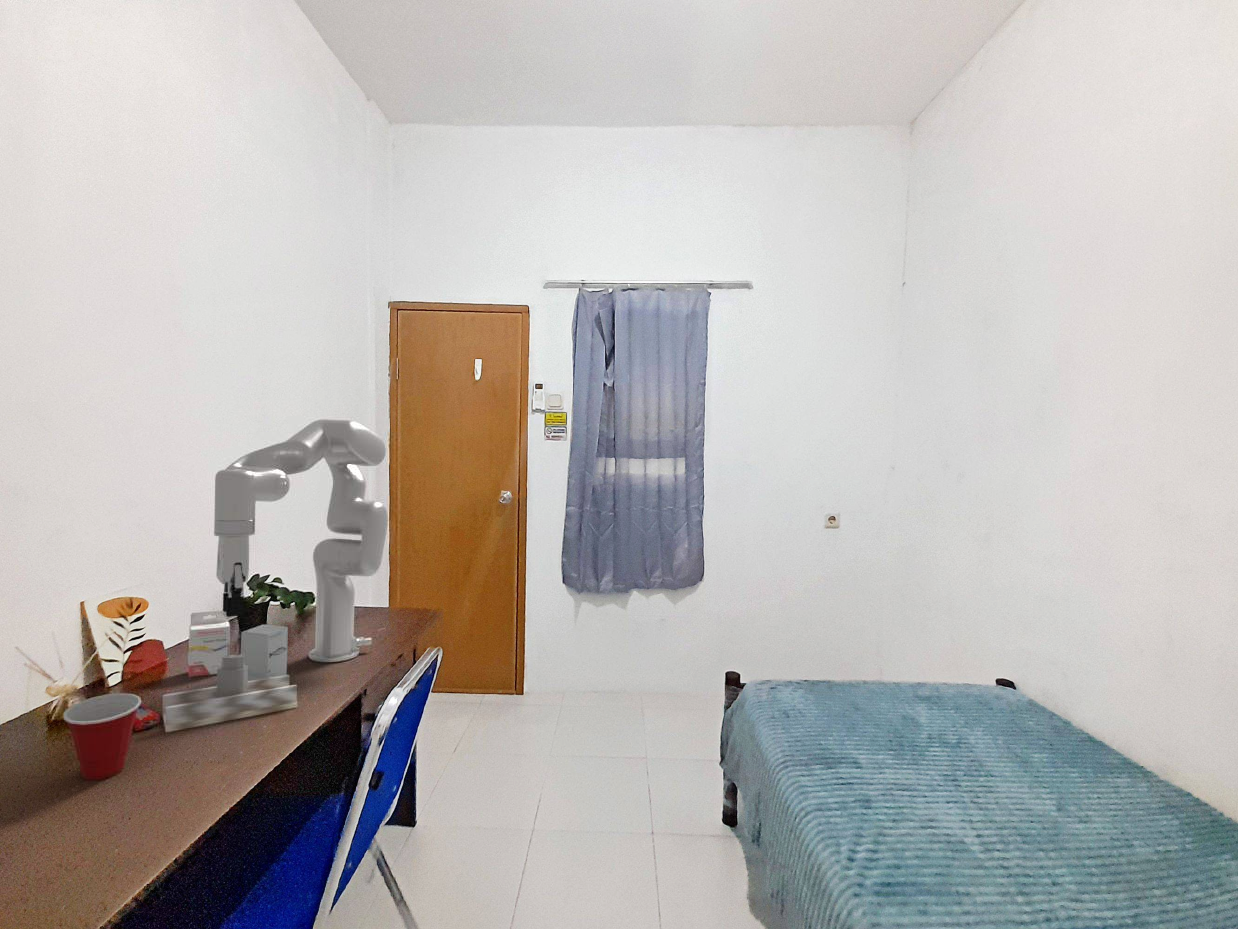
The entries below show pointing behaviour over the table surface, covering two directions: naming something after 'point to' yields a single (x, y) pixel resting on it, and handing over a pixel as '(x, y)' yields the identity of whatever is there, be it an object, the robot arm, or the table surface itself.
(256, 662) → the supplement box
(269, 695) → the rail board
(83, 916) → the table surface
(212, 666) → the ink cartridge box
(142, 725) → the race car
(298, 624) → the table surface
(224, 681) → the power adapter
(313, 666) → the table surface
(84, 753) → the plastic cup
